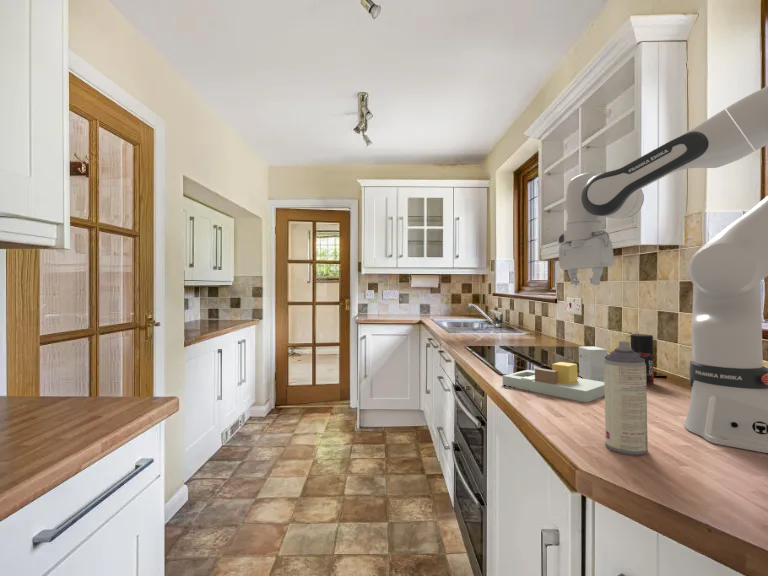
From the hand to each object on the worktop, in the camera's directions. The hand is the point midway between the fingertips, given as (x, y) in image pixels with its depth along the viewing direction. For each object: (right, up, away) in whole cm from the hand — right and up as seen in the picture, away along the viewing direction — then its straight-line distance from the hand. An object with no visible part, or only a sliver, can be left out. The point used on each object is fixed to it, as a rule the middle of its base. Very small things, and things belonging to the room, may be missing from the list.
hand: (584, 285), depth 110 cm
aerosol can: (-9, -31, -35) cm, 48 cm away
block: (-2, -28, +8) cm, 29 cm away
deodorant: (+26, -31, +17) cm, 44 cm away
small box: (+14, -31, +22) cm, 40 cm away
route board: (-4, -31, +10) cm, 33 cm away
